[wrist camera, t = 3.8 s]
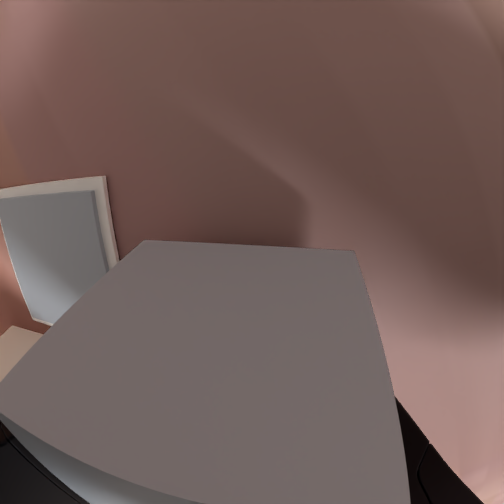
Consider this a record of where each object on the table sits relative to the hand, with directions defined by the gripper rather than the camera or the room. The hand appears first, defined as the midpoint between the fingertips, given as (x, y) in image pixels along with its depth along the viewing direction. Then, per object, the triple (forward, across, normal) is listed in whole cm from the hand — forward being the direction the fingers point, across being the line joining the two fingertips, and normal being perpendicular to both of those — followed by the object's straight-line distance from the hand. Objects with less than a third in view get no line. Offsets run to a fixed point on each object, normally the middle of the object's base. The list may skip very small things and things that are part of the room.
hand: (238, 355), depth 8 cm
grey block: (+1, 0, 0) cm, 1 cm away
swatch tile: (+2, +8, -1) cm, 8 cm away
